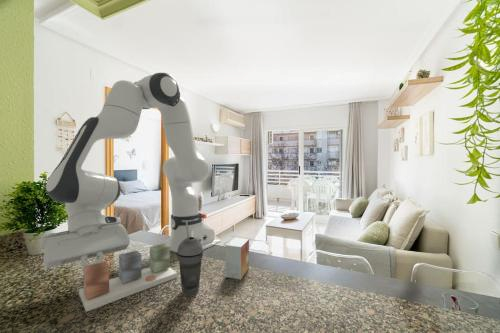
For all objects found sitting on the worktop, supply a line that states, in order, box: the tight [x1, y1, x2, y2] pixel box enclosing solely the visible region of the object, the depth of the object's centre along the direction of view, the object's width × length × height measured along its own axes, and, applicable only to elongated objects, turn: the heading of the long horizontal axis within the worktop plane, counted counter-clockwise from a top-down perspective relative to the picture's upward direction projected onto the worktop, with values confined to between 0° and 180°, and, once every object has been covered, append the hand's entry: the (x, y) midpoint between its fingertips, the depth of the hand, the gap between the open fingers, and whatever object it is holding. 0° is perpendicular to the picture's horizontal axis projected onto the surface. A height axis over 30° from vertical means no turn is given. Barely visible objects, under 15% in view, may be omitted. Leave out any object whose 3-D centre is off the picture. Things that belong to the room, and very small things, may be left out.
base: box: [78, 266, 178, 313], centre depth 69 cm, size 24×10×2 cm, turn 134°
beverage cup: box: [176, 222, 204, 297], centre depth 65 cm, size 7×7×20 cm
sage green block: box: [149, 243, 171, 272], centre depth 76 cm, size 5×4×7 cm
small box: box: [224, 237, 250, 280], centre depth 77 cm, size 8×6×10 cm
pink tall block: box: [83, 261, 110, 299], centre depth 61 cm, size 5×4×7 cm
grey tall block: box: [118, 250, 142, 283], centre depth 69 cm, size 5×4×7 cm
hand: (94, 270), depth 63 cm, fingers closed, pressing on pink tall block
